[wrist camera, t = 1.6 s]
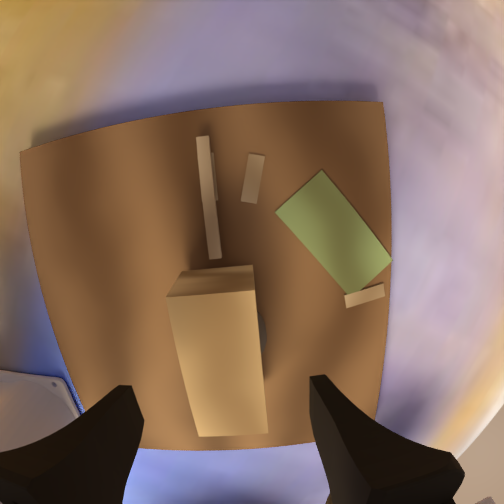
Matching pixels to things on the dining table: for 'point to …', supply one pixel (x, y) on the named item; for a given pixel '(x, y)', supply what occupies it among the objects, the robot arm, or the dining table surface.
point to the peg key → (219, 333)
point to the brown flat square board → (232, 247)
